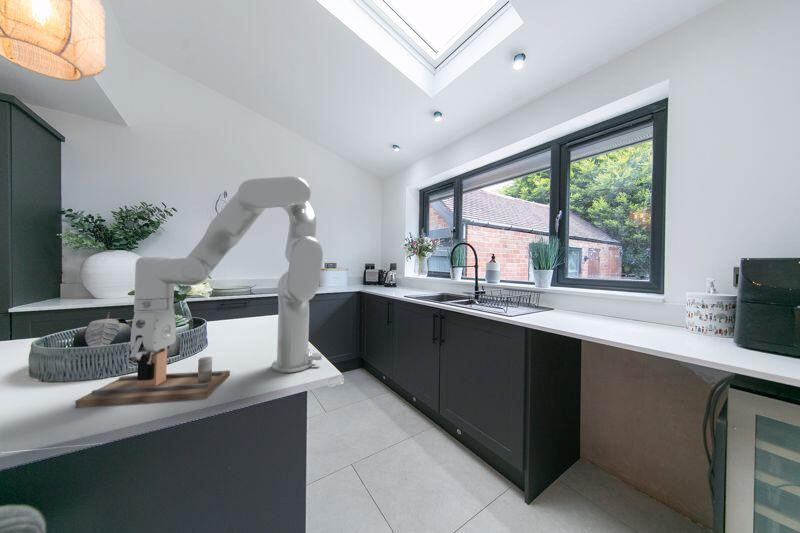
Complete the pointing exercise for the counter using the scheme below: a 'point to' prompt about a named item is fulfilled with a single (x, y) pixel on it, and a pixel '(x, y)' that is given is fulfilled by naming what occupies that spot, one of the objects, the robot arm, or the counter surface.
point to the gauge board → (159, 388)
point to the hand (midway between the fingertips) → (152, 375)
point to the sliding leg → (156, 369)
